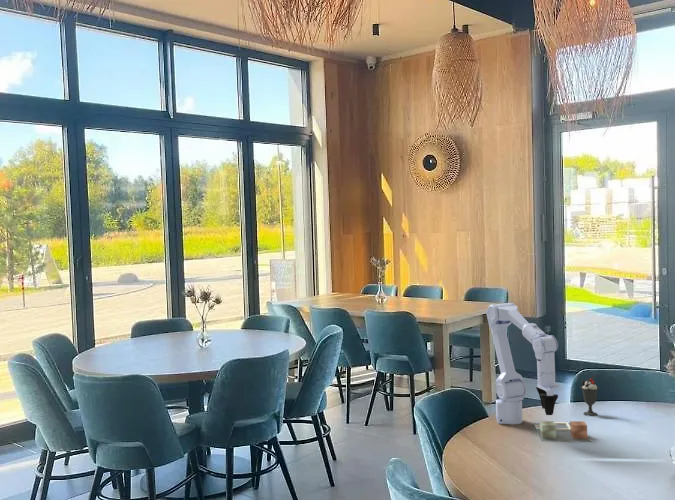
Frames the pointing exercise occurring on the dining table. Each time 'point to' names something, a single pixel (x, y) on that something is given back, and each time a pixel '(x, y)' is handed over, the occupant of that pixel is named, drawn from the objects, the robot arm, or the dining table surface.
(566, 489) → the dining table surface
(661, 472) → the dining table surface
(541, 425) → the sage block
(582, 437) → the terracotta block
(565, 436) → the grey board
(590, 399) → the sundae
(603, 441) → the dining table surface
